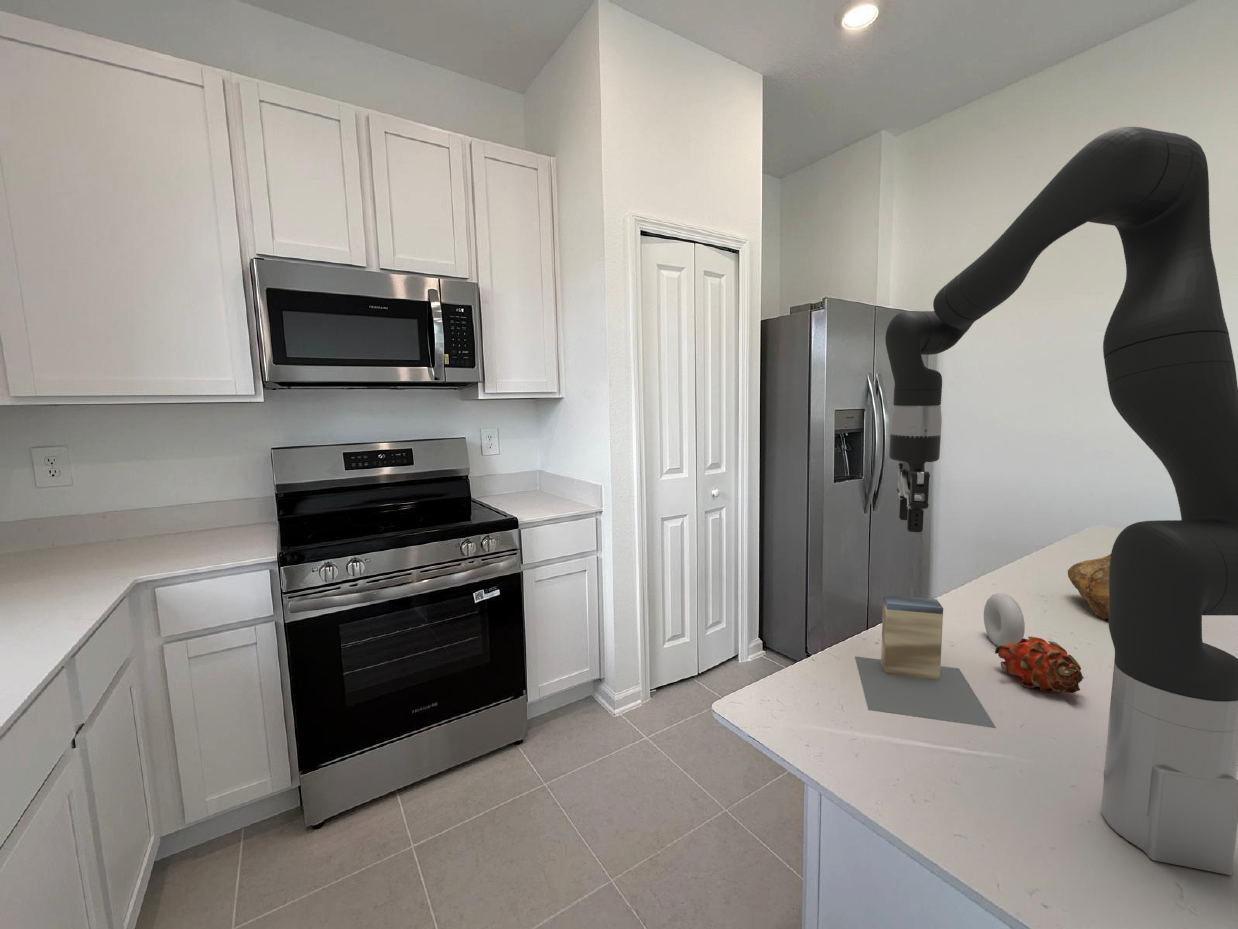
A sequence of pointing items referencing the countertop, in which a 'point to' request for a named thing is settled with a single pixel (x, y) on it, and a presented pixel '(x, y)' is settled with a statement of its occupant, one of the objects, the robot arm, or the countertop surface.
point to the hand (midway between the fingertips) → (910, 525)
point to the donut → (1003, 620)
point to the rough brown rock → (1093, 583)
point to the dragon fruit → (1041, 665)
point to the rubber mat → (922, 694)
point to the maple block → (911, 636)
